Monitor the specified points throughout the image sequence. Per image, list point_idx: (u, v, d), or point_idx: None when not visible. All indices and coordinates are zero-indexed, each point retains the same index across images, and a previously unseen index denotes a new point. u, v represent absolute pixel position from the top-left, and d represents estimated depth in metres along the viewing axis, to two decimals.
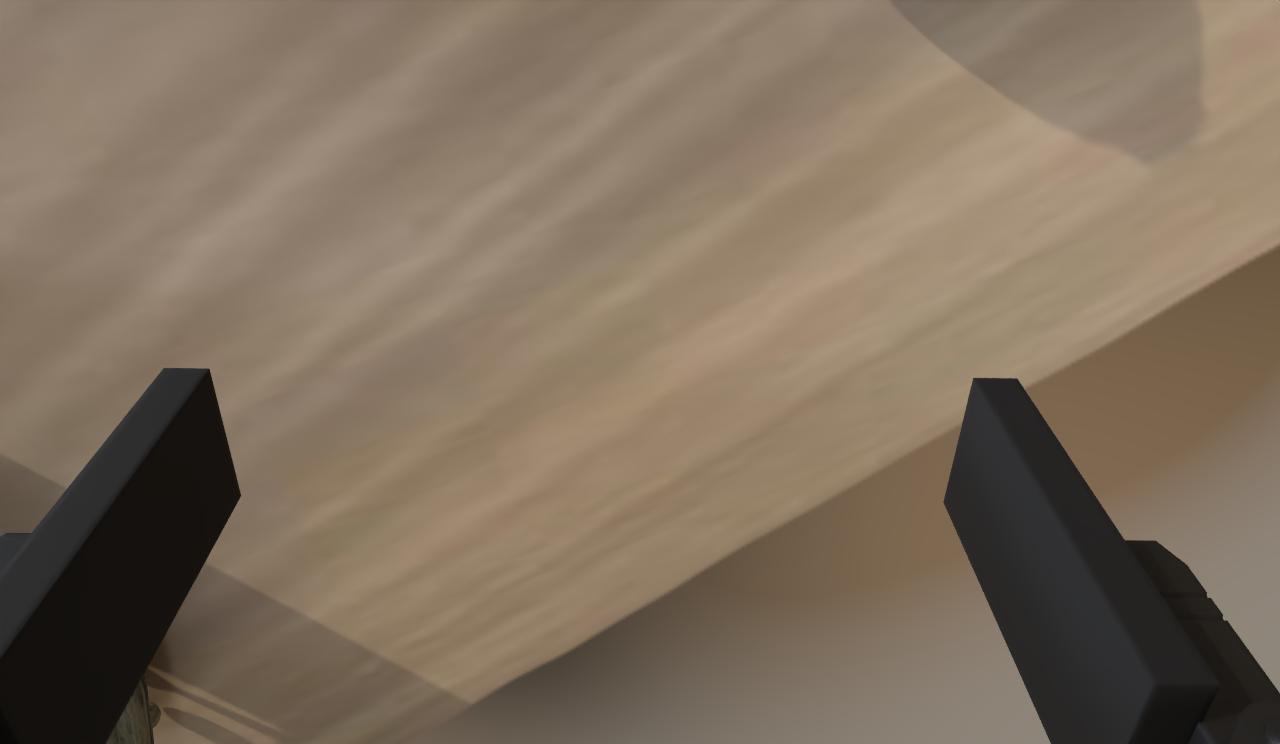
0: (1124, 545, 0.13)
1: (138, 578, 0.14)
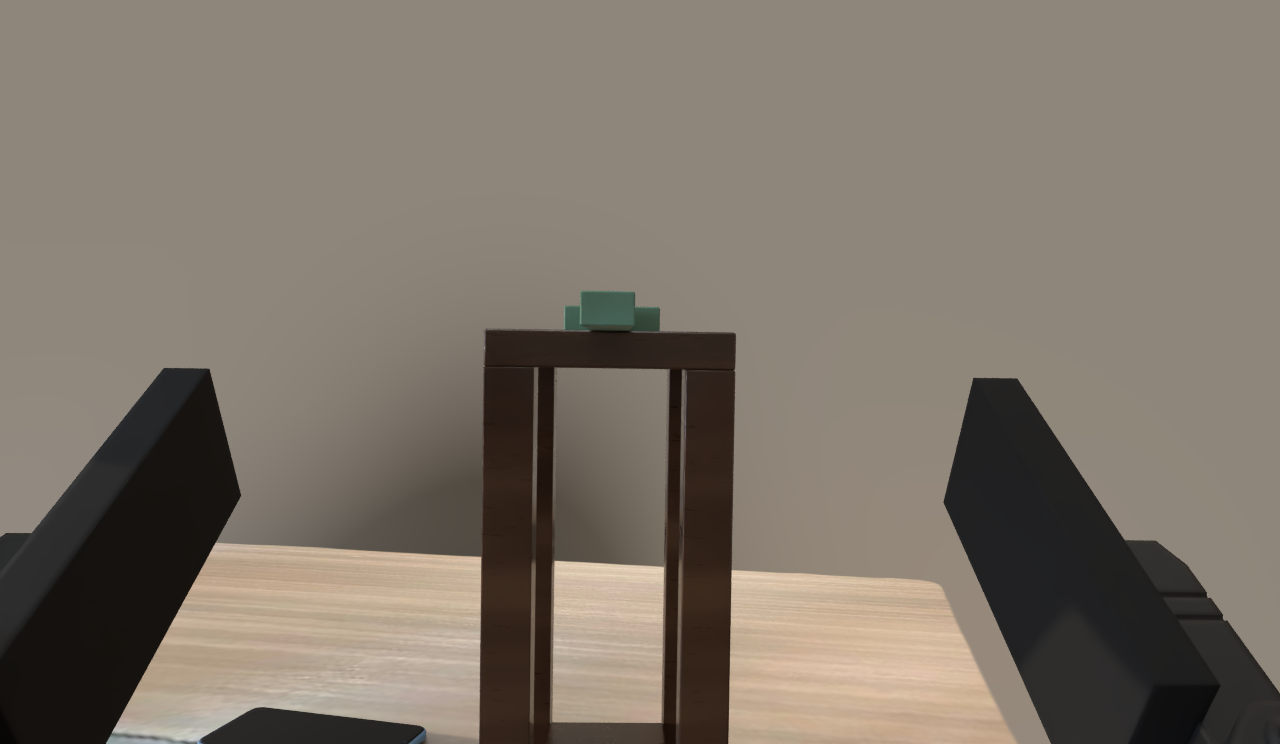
0: (1124, 545, 0.13)
1: (138, 578, 0.14)
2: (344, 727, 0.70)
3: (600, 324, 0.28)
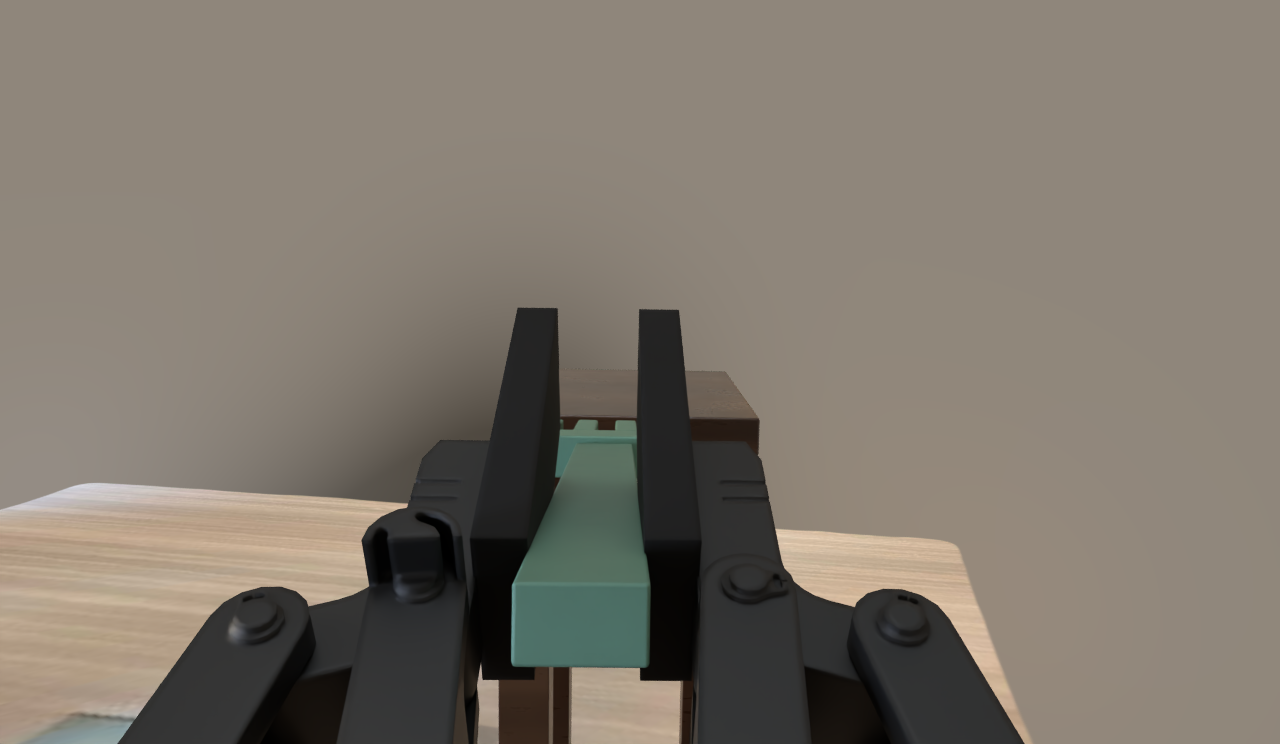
0: (688, 438, 0.14)
1: (546, 481, 0.16)
2: None
3: (563, 665, 0.11)
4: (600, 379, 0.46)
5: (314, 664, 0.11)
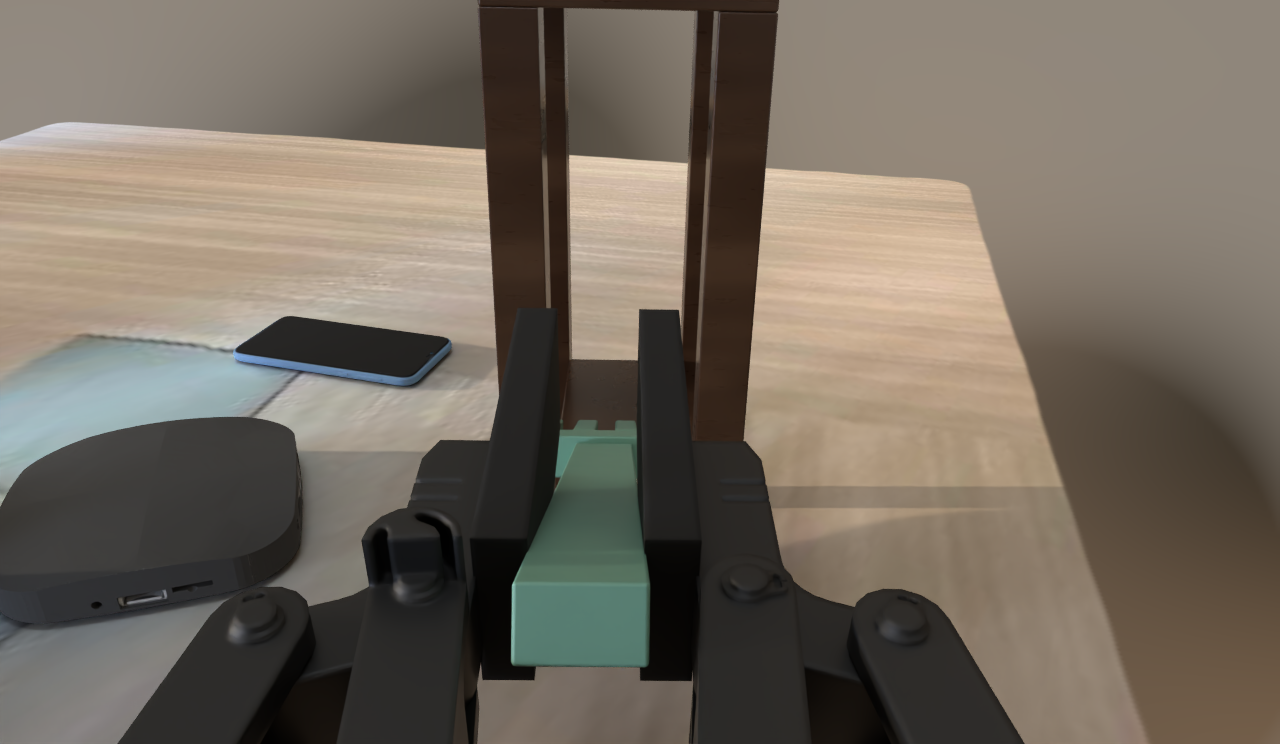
0: (688, 438, 0.14)
1: (546, 481, 0.16)
2: (372, 338, 0.73)
3: (563, 665, 0.11)
4: None
5: (314, 664, 0.11)
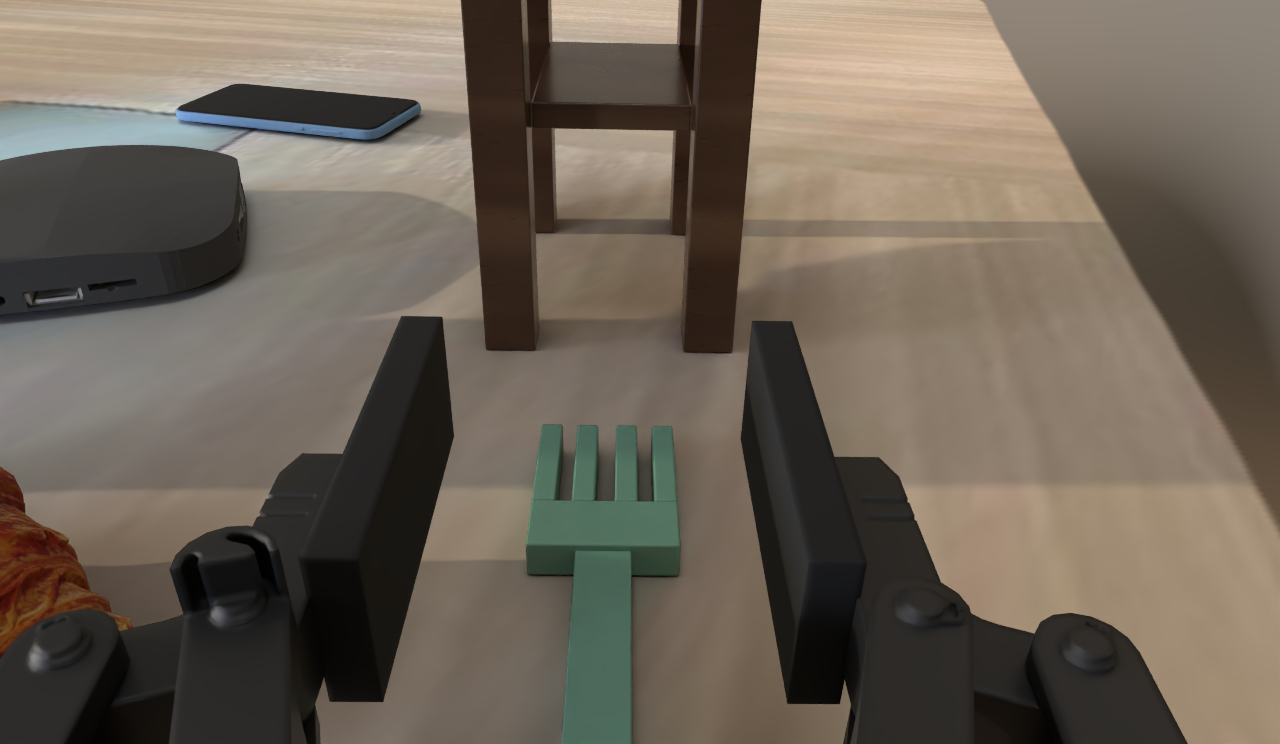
0: (830, 455, 0.14)
1: (413, 495, 0.15)
2: (331, 100, 0.65)
3: None
4: None
5: (122, 690, 0.11)
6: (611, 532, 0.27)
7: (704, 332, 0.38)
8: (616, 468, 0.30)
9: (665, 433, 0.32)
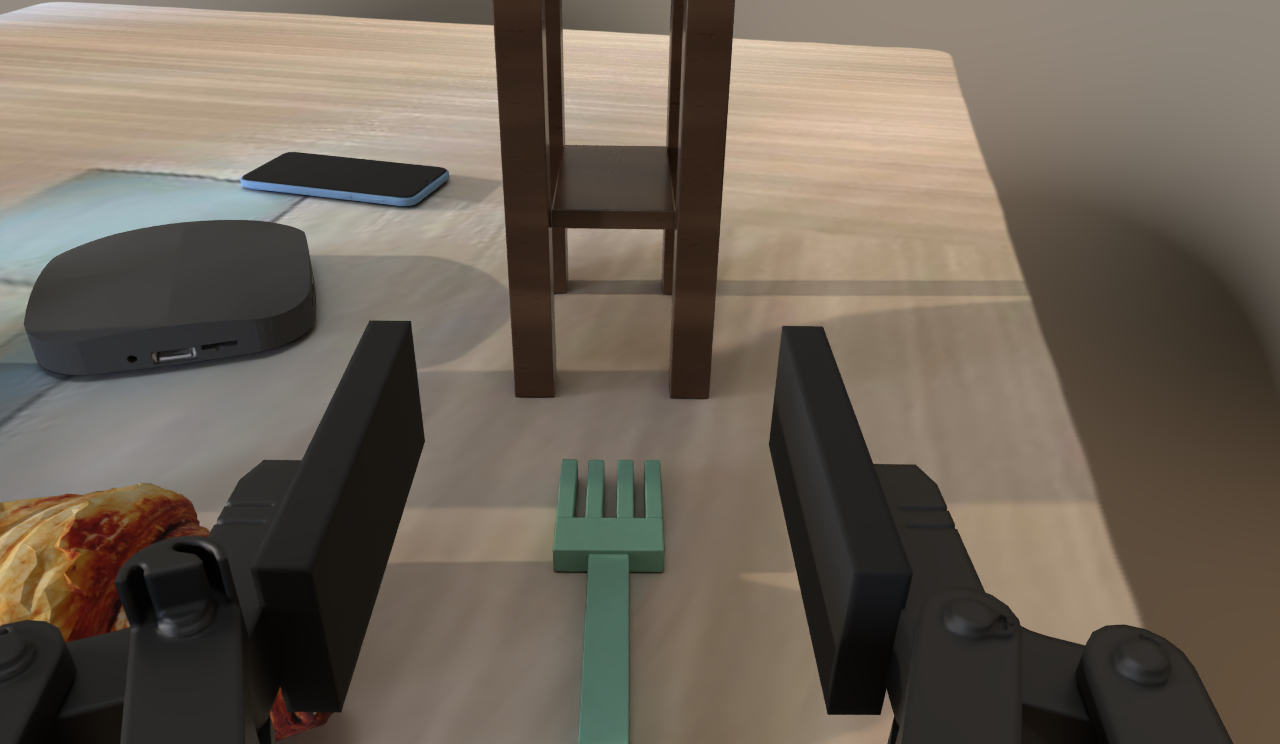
0: (869, 463, 0.14)
1: (377, 502, 0.15)
2: (372, 168, 0.76)
3: None
4: None
5: (67, 702, 0.11)
6: (614, 540, 0.38)
7: (686, 383, 0.49)
8: (618, 493, 0.41)
9: (654, 465, 0.42)
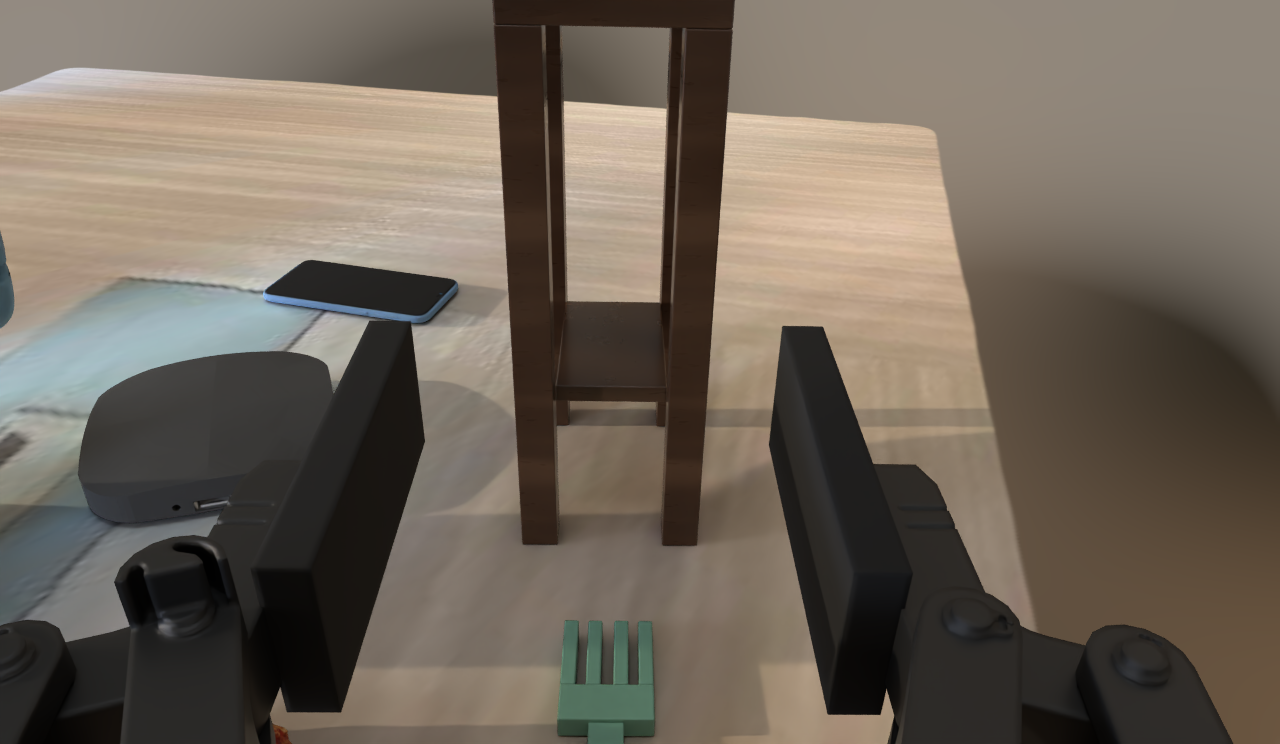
0: (869, 463, 0.14)
1: (377, 502, 0.15)
2: (386, 280, 0.81)
3: None
4: None
5: (67, 703, 0.11)
6: (611, 709, 0.43)
7: (677, 533, 0.54)
8: (614, 657, 0.46)
9: (647, 627, 0.48)
